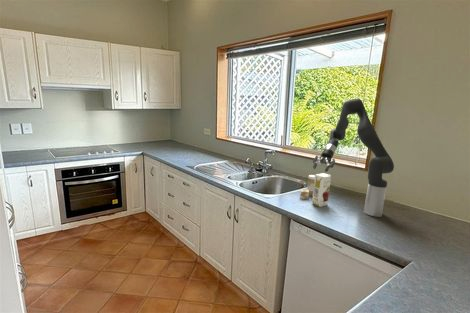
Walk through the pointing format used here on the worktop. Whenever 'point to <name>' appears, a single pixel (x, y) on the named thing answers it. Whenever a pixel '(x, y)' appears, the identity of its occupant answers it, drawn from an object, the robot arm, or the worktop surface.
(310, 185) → the sprinkles bottle
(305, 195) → the beech block
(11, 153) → the worktop surface
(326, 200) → the juice carton
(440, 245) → the worktop surface
